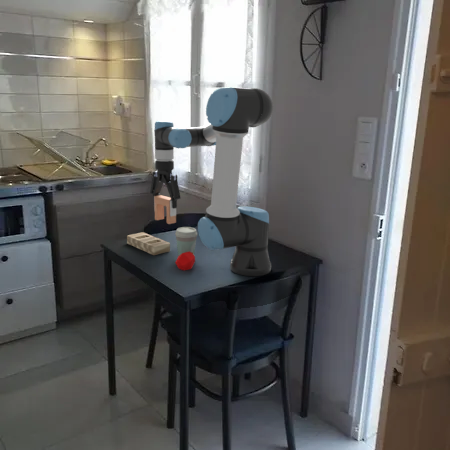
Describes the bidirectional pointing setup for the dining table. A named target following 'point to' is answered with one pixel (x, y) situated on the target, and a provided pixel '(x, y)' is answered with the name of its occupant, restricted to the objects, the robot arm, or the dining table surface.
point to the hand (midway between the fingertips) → (165, 213)
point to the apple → (185, 261)
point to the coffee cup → (186, 239)
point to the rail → (148, 243)
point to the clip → (159, 208)
